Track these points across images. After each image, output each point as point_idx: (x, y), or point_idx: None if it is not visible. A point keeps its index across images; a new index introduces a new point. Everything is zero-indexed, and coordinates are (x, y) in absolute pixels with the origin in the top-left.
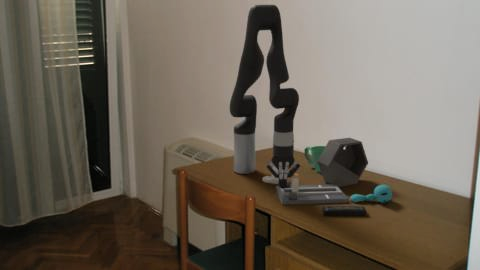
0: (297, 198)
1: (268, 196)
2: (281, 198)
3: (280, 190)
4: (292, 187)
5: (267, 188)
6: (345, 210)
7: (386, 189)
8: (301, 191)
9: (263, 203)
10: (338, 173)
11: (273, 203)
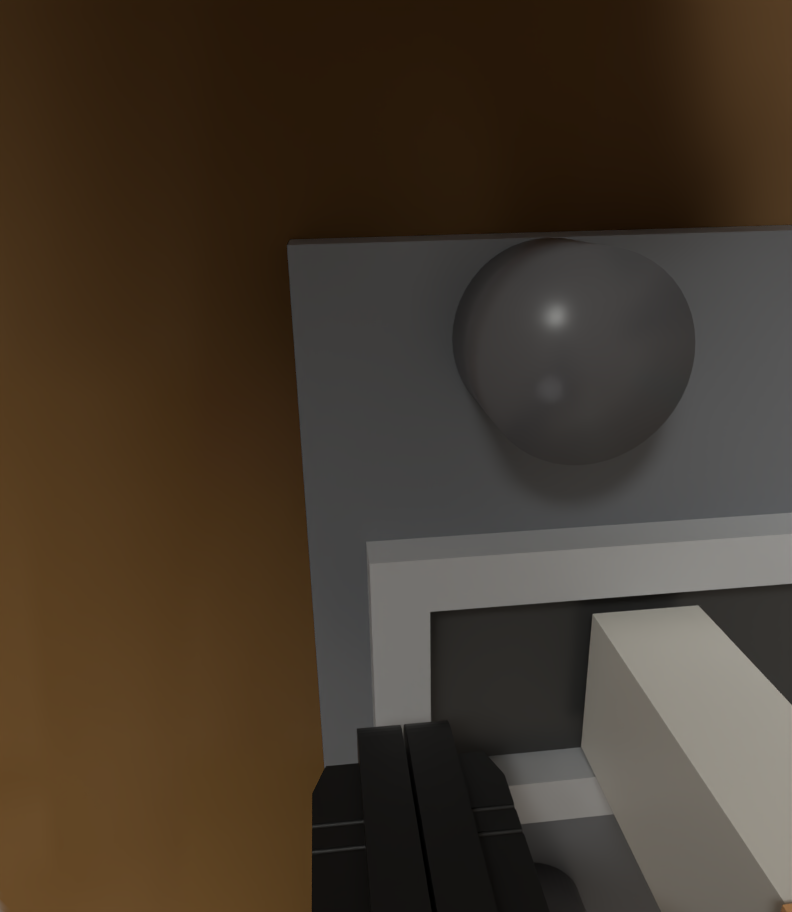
0: (594, 894)
1: (124, 619)
2: None
3: (367, 561)
4: (620, 765)
5: (89, 129)
6: None
7: None
8: (765, 623)
9: (46, 889)
10: None
11: (208, 881)
